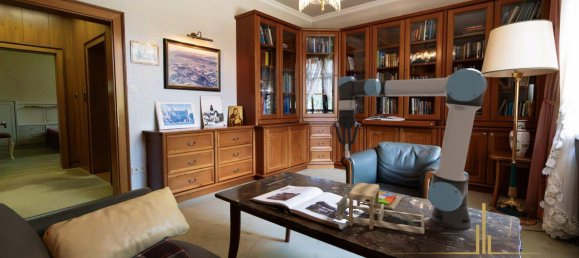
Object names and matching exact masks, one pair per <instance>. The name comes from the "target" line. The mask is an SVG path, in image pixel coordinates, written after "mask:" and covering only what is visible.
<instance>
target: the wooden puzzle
mask: <svg viewBox="0 0 579 258" xmlns="http://www.w3.org/2000/svg"><path fill="white" fill-rule="evenodd" d="M402 199H403V198H402V197H401V196H397V195H396V194H392V193H386V192H381V191H379V208H380V207H381V204H384V209H386V210H391V211H394V209H396V208H397V206H398V205H399V203H400V201H401V200H402ZM360 202H363V203H367V204H366V205H368V206H370V200H368V199H362V200H361V199H360ZM363 203H362V204H363ZM374 207H375V198H374Z"/></svg>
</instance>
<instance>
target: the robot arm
mask: <svg viewBox="0 0 579 258" xmlns="http://www.w3.org/2000/svg"><path fill="white" fill-rule="evenodd" d="M337 85H338V86H337V89H338V109H339V110H338V119H337V120H338V121H337V122H336V123H334V124H333V127H334V129H335V132H336V136H337V140H338V143H339V144H341V145H342V151H343V152H344V155H345V156H344V157H345V159H349V158H350V152H351V151H352V145H354V144H355V143H356V140H357V135H358V131H359V128H360V126H361V125H362V124H361V123H358V122H357V120H356V116H355V115H356V114H355V112H356V111H355V106H356V105H355V97H356V98H357V97H378V98H379V97H380V98H381V97H446V98H445V106H446V107H447V108H448V114H447V117H446V123H445V128H444V129H445V130H444V134H443V141H442V146H441V152H440V156H439V163H438V168H436V169H435V170H433V173H432V177H431V184H430V185H429V187H428V189H427V200H428V202H429V203H430V204H431V205H432V206H433V209H432V211H431V214H430V219H431V221H432V222H434V223H435V224H436V225H439V226H442V227H444V228H448V229H454V230H455V229H456V230H457V229H458V230H464V229H469V228H470V227H472V219H471V215H470V213H469V209H468V188H469V180H470V178H469V173H468V172H466V171H465V166H466V163H467V162H466V161H467V156H468V151H469V146H470V142H471V136H472V132H473V126H474V120H475V117H476V113H477V111H478V110H480V109H481V108H482V106H483V101H484V97H485V93H486V91H487V90H488V80H487V77H486V76H485V75H484V74H483V73H482V72H481V71H480V70H478V69H475V68H469V67H468V68H461V69H459V70H455V72H453V73H452V74H451V75H450V74H449V75H447V77H440V78H439V77H437V78H436V77H435V78H419V79H394V80H392V79H391V80H379V78H368V79H359V80H358V79H357V80H356V79H355V77H354V76H340V77H339V78H338V84H337ZM339 126H340V127H341V129H340V127H339ZM354 127H355V128H354ZM353 128H354V132H353V135H352V129H353ZM341 130H342V134H341Z"/></svg>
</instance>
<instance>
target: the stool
mask: <svg viewBox="0 0 579 258" xmlns="http://www.w3.org/2000/svg"><path fill="white" fill-rule="evenodd" d="M379 192H380V184H376V183H367V182H357V183H355V185H354V186H353V188H352V189H351V190H350V192H349V193H348V195H349V196H348V201H349V202H348V205H349V221H348V226H351V227H352V226H353V225H354V222H353V217H354V212H353V205H354V199H356V206H361V203H360V201H361V199H368V200H370V205H369V208H370V213H369V219H370V225H368V226H369V230H373V229H374V226H373V223H374V220H375V217H374V216H375V215H377V214H376V213H374V208H375V209H380V207H379ZM374 198H375V206H374Z"/></svg>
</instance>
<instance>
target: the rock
mask: <svg viewBox="0 0 579 258" xmlns="http://www.w3.org/2000/svg"><path fill="white" fill-rule="evenodd" d="M383 222H389V223H396V224H402V225H408V226H414V225H413V224H414V223H413V221H412V219H409V218H405V217H404V216H401V215H399V214H396V213H391V214H389V215H386V218H385V219H384V220H383Z"/></svg>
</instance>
